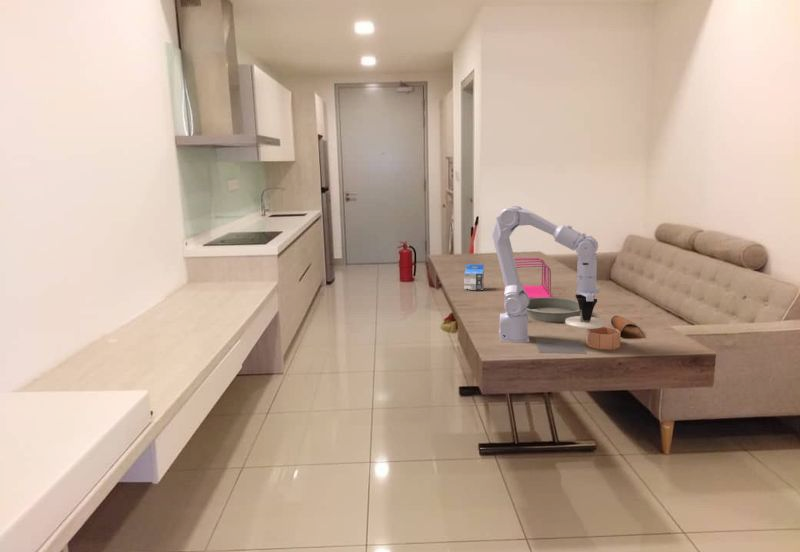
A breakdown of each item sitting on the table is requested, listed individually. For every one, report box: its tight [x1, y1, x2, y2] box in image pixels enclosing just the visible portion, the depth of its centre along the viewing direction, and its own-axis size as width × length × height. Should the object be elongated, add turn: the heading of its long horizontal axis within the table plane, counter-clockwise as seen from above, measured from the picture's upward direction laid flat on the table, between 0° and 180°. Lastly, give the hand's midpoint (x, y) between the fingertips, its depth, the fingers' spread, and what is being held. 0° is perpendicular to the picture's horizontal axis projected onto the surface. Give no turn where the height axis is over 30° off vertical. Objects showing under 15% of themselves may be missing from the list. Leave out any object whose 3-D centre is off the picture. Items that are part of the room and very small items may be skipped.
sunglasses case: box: [610, 315, 646, 340], centre depth 191 cm, size 18×7×7 cm
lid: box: [564, 311, 606, 330], centre depth 175 cm, size 12×12×4 cm
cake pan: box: [526, 296, 580, 323], centre depth 215 cm, size 25×25×4 cm
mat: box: [534, 338, 587, 355], centre depth 176 cm, size 14×14×1 cm
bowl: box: [585, 326, 621, 350], centre depth 176 cm, size 10×10×5 cm
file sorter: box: [514, 257, 553, 299], centre depth 250 cm, size 17×25×16 cm
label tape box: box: [463, 263, 485, 291], centre depth 263 cm, size 9×4×12 cm, turn 71°
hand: (585, 318), depth 175 cm, fingers closed on lid, 3 cm apart
